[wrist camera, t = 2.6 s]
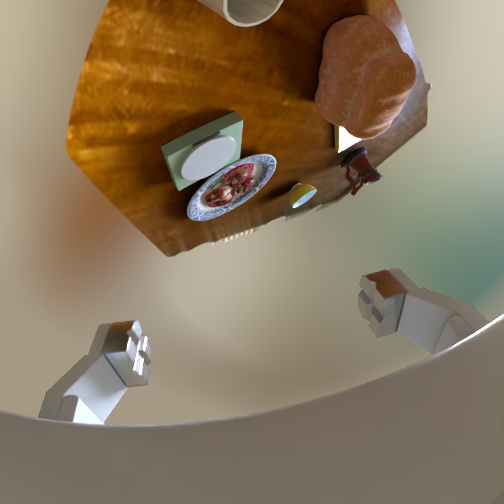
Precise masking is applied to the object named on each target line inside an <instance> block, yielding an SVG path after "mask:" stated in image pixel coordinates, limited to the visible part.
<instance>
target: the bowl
mask: <svg viewBox="0 0 504 504" xmlns="http://www.w3.org/2000/svg"><path fill="white" fill-rule="evenodd" d="M291 191H292V192H291V195H290V203H291V206H292V207H293V208H295V207H298V206H300V205H301V204H303V203H304V202H306V201H307V200H309V199H310V198H311V197H312V196H313V195H314V194H315V193H316V191H317V190H316V189H315V188H314V187H313V186H311V185H309V184H300V183H298V184H296V185H295V186H293V187H292V188H291Z"/></svg>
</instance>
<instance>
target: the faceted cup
mask: <svg viewBox="0 0 504 504" xmlns="http://www.w3.org/2000/svg"><path fill="white" fill-rule="evenodd" d="M197 1H199V2H200V3H202V4H204V5H205V6H207V7H208V8H210V9H211V10H213V11H214V12H216V13H217V14H219V15H220V16H222V17H223V18H225V19H226V20H228V21H229V22H231V23H232V24H234V25H236V26H243V27H249V26H253V25H258V24H260V23H262V22H264V21H266V20H267V19H269V18H270V17H271V16H272V15H273V14H274V13H275V12H277V10H278V9H279V7H280V5H281V4H282V2H283V0H197Z"/></svg>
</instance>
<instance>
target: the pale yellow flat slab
mask: <svg viewBox="0 0 504 504" xmlns="http://www.w3.org/2000/svg"><path fill="white" fill-rule="evenodd" d="M334 126H335V149H336V150H337V151H338V152H339V153H340V152H341V151H343V150H345V149H346V148H348V147H350V146H351V145H353V144H355V143H356V142H358V141H360V140H361V139H358V138H355V137H353V136H351V135H350V134H348V133H347V131H346V130H345V128H343V127H340V126H337V125H335V124H334Z"/></svg>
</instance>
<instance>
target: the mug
mask: <svg viewBox="0 0 504 504" xmlns="http://www.w3.org/2000/svg"><path fill="white" fill-rule="evenodd" d="M343 166H344V167H346V169H347V172H346V175H345V177H346V179H347V180H348V181H349V182H350V183H351V185H352V188H353V191H352V192H351V194H352V195H355V194H356V193H357V191H358V190H359V189H361V187H362V186H363V183H365V184H366V185H367V184H371V183H374V182H376V181H378V180H380V179H381V178H382V175H381V174H380V173H378V171H377V169H375V168H374V167H373V165H372V164H371V162H370V161H369V158H368V156H367V152H366V150H365V149H364V148H362V149H359V150H358V151H356V152H355V153H353V154H352V155H351V156H350V157H349V158H348V159H347V160H346V162H345V163H343V164H342V165H341V168H343ZM349 167H351V168H353V169H355V170H356V171H357V172H358V173H359V174H358V175H357V177H358V180H359V181H361V184H360V185H359V186H358V187H357V188H356V187H355V182H354V180H353V179H352V178H351V177H350V176H349V172H350V169H349Z"/></svg>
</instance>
